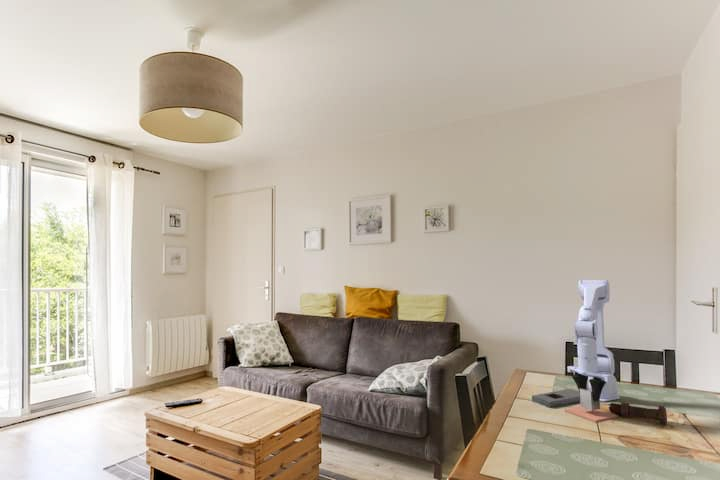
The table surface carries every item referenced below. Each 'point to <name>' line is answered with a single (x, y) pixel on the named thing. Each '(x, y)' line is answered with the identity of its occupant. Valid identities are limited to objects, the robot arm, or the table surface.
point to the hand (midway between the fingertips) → (589, 398)
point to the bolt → (640, 412)
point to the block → (557, 398)
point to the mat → (591, 414)
